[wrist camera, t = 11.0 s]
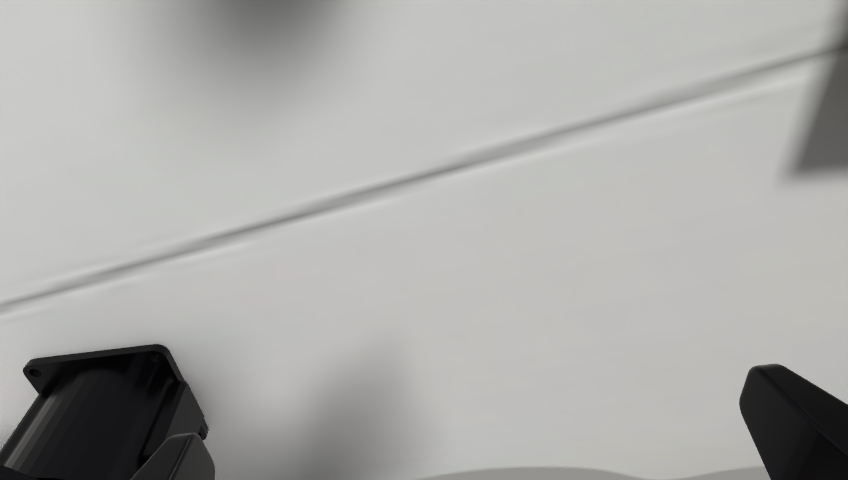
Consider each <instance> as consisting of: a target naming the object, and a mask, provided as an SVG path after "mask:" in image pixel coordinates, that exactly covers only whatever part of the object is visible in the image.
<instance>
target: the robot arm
mask: <svg viewBox="0 0 848 480" xmlns="http://www.w3.org/2000/svg"><path fill="white" fill-rule="evenodd" d="M156 355H158V356H156ZM23 373H24V375H25V376H26V378H27V379H28V380H29V382H30V383H31V384H32V386H33V387H34V388H35V390H36V391H37V392H38V394H39V395H38V397H37V398H36V400H35V401H34V403H33V404H32V406H31V407H30V408H29V410H28V411H27V413H26V414H25V416H24V417H23V419H22V420H21V422H20V423H19V425H18V426H17V428H16V429H15V431H14V432H13V433H12V435H11V436H10V438H9V439H8V441H7V442H6V444H5V445H4V447H3V448H2V450H1V451H0V480H215V466H214V462H213V460H212V458H211V456H210V454H209V452H208V450H207V449H206V447H205V445H204V443H203V441H202V440H204V439H206V436H207V433H208V430H209V429H208V426H207V424H206V422H205V420H204V415H203V413H202V411H201V409H200V407H199V405H198V403H197V401H196V399H195V397H194V395H193V393H192V391H191V389H190V387H189V385H188V384H187V383H186V382H185V381H184V379H183V377H182V375H181V373H180V371H179V369H178V367H177V365H176V363H175V361H174V359H173V357H172V355H171V353H170V351H169V350H168V349H167V348H166V347H165V346H163V345H159V344H153V345H145V346H136V347H128V348H120V349H111V350H103V351H95V352H86V353H78V354H70V355H61V356H53V357H45V358H37V359H32V360H30V361H29V362H28V363H27V364H26V366H25V367H24V368H23ZM739 405H740V410H741V414H742V416H743V418H744V421H745V423H746V425H747V427H748V430H749V432H750V434H751V436H752V439H753V441H754V443H755V445H756V447H757V450H758V452H759V454H760V456H761V459H762V461H763V463H764V465H765V468H766V470H767V472H768V474H769V476H770V479H771V480H848V404H846V403H844V402H843V401H841V400H839V399H838V398H836V397H834V396H833V395H831V394H829V393H828V392H826V391H824V390H823V389H821V388H819V387H818V386H816V385H814V384H813V383H811V382H809V381H808V380H806V379H804V378H803V377H801V376H799V375H798V374H796V373H794V372H793V371H791V370H789V369H788V368H786V367H784V366H782V365H779V364H768V365H759V366H754V367H752V368H751V369H750V370H749V372H748V375H747V378H746V381H745V384H744V387H743V390H742V393H741V396H740V401H739Z"/></svg>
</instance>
